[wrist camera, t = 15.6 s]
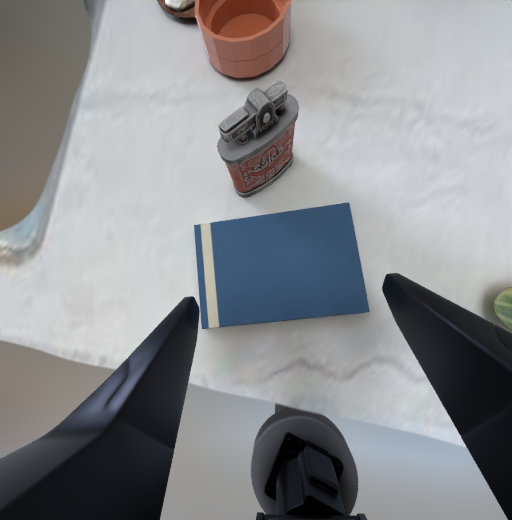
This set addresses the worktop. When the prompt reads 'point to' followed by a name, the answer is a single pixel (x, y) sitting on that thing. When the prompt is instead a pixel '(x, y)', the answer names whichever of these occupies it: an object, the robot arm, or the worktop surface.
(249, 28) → the bowl
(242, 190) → the vintage table igniter
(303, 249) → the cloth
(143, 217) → the worktop surface
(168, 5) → the skull
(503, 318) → the vegetable
